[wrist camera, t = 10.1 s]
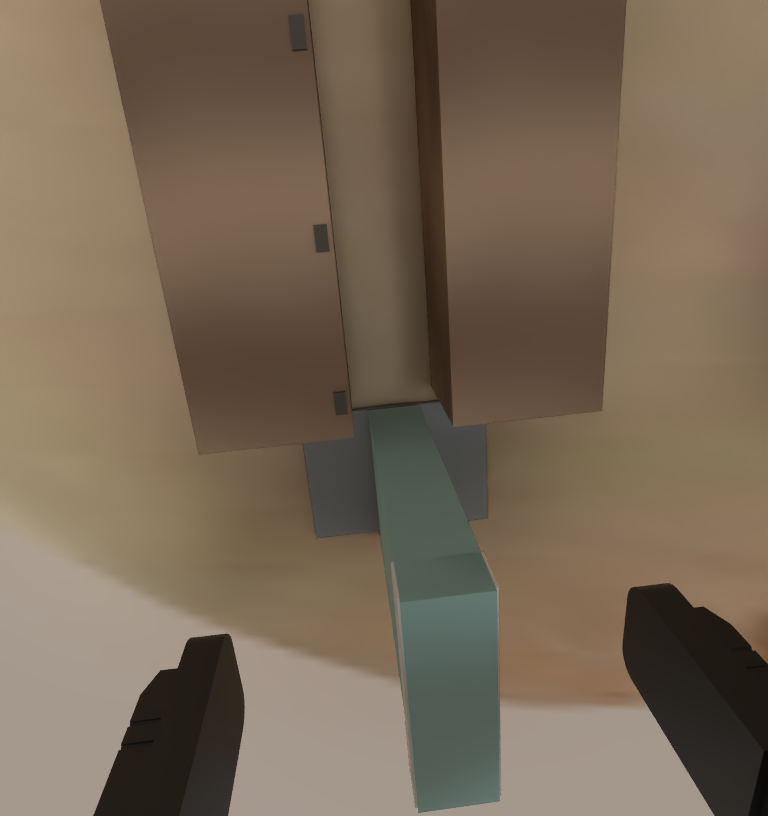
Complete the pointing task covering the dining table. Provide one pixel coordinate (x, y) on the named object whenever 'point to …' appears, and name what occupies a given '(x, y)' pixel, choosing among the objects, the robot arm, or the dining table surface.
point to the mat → (355, 479)
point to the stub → (438, 618)
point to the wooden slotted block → (440, 194)
